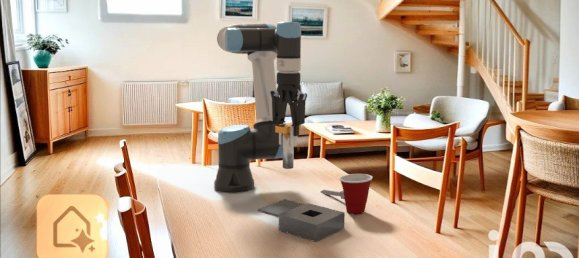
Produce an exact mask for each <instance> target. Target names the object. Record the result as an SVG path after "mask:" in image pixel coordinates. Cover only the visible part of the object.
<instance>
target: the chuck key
mask: <svg viewBox="0 0 579 258" xmlns="http://www.w3.org/2000/svg"><path fill="white" fill-rule="evenodd" d="M291 125H292V122H288V123H286V124H283V125H278V126H275V132H277V133H283V158H282V169H286V170H290V169H291V170H292V169H294V163H295V162H294V161H295V160H294V153H295V152H294V151H295V149H294V147H295V146H293V147H292V146H290V126H291ZM300 131H302V124H301V125H300V126H299V132H300Z"/></svg>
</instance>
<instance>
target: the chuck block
mask: <svg viewBox="0 0 579 258" xmlns="http://www.w3.org/2000/svg"><path fill="white" fill-rule="evenodd" d="M303 204H304V205H301V206H299V207H296V208H294V209H291V210H289V211H286V212H283V213H281V214H279V217H278V231H280V232H283V233H285V234H290V235H293V236H295V237H300V238H303V239H306V240H309V241H312V242H315V243H318V242H319V241H321V240H324V239H325V238H327V237H329V236H331V235H334V234H336V233H338V232H340V231H342V230H344V229H345V214H346V213H345V211H340V210H336V209H332V208H328V207H324V206H321V205H316V204H312V203H310V202H309V203H308V202H307V203H303Z"/></svg>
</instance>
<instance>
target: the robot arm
mask: <svg viewBox="0 0 579 258" xmlns="http://www.w3.org/2000/svg"><path fill="white" fill-rule="evenodd" d="M301 37H302V28H301V23H300V22H298V21H278V22H277V24H276V25H274V24H269V23H268V24H267V23H234V24H230V25H225V26H224V27H222V28H221V29H220V30H219V31H218V33H217V36H216V41H217V45H218V46H219V47H220V49H221V50H223V51H225V52H228V53H231V54H236V55H237V54H238V55H247V61H249V62H250V63H251V67H252V76H253V93H254V102H255V114H256V115H255V116H256V121H255V122H253V127H252V128H250V126H249V125H248V124H234V125H229V126H226V127H223V128H221V129H220V130H219V131H218V135H217V145H218V146H217V148H218V149H217V150H218V153H217V155H218V157H217V161H218V169H217V172H216V178H215V179H214V182H213V188H214V190H215V191H217V192H219V193H220V192H221V193H227V194H237V193H246V192H250V191H252V190H254V189H255V179H254V178H253V173H252V171H251V167H250V166H251V165H250V164H251V163H250V162H251V161H252V160H253V161H255V160H270V159H272V160H276V159H283V133H277V132H275V126H278V125H283V124H287V123H286V121H285V119H286V113H287V109H288V108H287V107H288V105H289V111H290V116H291V123H292V125H291V126H290V146H292V147H293V146H294V147H295V146H298V141H299V139H298V137H299V136H300V131H299V126H300V125H301V126H302V125H304V124H305V122H306V121H305V119H306V103H307V102H306V101H307V98H308V93H307V92H306V93H303V92H302V91H301V88H300V85H301V73H300V71H301V69H302V68H301V66H302V65H301V61H302V60H301V59H302V58H301V56H302V55H301V53H302V52H301V51H302V50H301V48H302V46H301V45H302V38H301ZM275 59H276V69H275ZM275 71H277V73H276V72H275Z"/></svg>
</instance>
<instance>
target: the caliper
mask: <svg viewBox="0 0 579 258" xmlns="http://www.w3.org/2000/svg"><path fill="white" fill-rule="evenodd" d="M320 193H322V194H324V195H330V196H336V197H340V199H341V200H345V199H344V193H343V190H341V191H336V190H331V189H330V190H329V189H322V190H321V191H320Z"/></svg>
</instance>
